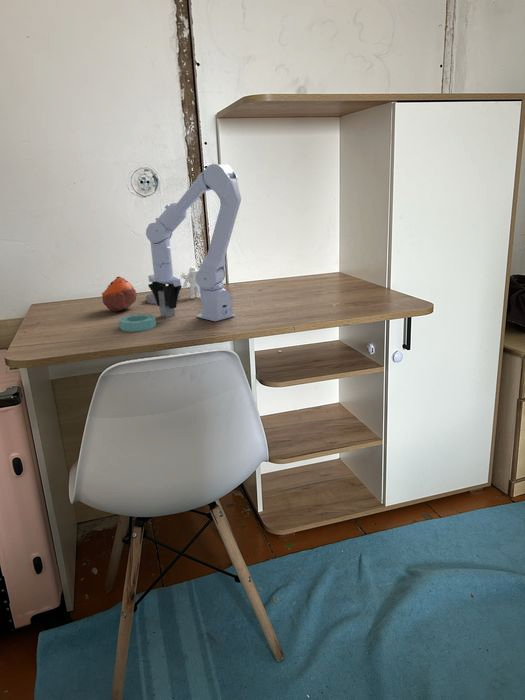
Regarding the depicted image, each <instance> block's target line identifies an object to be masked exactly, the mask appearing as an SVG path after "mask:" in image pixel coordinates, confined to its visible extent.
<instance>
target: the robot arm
mask: <svg viewBox="0 0 525 700" xmlns="http://www.w3.org/2000/svg"><path fill="white" fill-rule="evenodd" d="M238 178H239V177H238V175H237V174H236V172H235V171H234V169H233V167H232V166H230V165H229V164H225V163H224V164H216V163H211V164H209V165H207V167H205V169H204V171H201V172H200V173H199V175H198V176H197V178H196V179H195V180H194V181H193V183H192V184H191V185H190V186H189V188H188V189H187V190H186V191H185V193H184V194H183V195H182V196H181V198H180V199H179V200H178V202H171V203H169V204H166V205H165V206H164V208H165V210H164V211H163V212H162V213H161V214H160V215H159V216H156V217H155V218H154V219H155V222H151V223H149V224H148V226H147V227H146V230H145V235H146V238H147V240H148V241H149V242H150V251H151V261H152V269H153V274H151V275H148V282H150V283H149V284H147V286H148V288H149V289H150V291H151V293H153V294H154V297H155V299H156V302H157V304H156V305H157V307H160V305H159V296H158V291H161V290H164V291H165V293H166V296H167V300H168V306H169V308H170V309H173V308H174V309H175V308H177V304H178V299H179V298H178V295H179V292H180V293H181V290H182V288H183V286H182V284H181V278H177V277H176V276H174V271H173V269H174V268H173V262H172V250H171V244H170V240H171V238H172V236H173V232H174V231H175V230H176V229H177V228H178V227H179V226H180V225H181V223H182V222H183V221H184V220H185V219H186V218H187V210H189V208H190V207H191V206H192V205H194V203H195V202H197V201H198V199H199V198H200V197H201V196H202V195H203V194H204V193H205V192H209V191H211V190H212V191H213V192H214V193H216V196H218V197H217V198H218V199H219V200H220V207H219V211H218V215H217V216H216V217H217V218H216V221H215V226H214V229H213V233H212V235H211V240H210V243H209V246H208V250H207V254H206V256H205V258H204V259H203V261H202V263H201V265H200V268H199V269H198V272H197V273H196V282H197V284H198V285H199V288H200V307H201V314H196V315H195V317H196V318H200V319H203V320H208V321H212V322H218V321H221V320H226V319H229V318H233V317H235V316H236V314H233V300H232V298H233V297H232V295H231V292H230V291H228V290H226V289H225V288H224V287H225V286H224V282H223V281H224V280H225V278H226V269H225V267H226V263H227V262H226V259H225V258H226V255H227V251H228V247H229V243H230V240H231V237H232V233H233V230H234V226H235V222H236V219H237V217H238V212H239V209H240V205H241V201H242V197H241V193H240V188H239V182H238Z"/></svg>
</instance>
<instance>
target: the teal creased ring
mask: <svg viewBox="0 0 525 700" xmlns="http://www.w3.org/2000/svg"><path fill="white" fill-rule="evenodd" d="M156 326H157V320H156V316H155V315H153V314H145V313H142V314H133V315H127V316H124V317H121V318H120V319H119V328H120V330H121V331H122V332H128V333H130V332H143V331H148V330H151V329H153V328H155V327H156Z"/></svg>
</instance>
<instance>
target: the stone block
mask: <svg viewBox="0 0 525 700" xmlns="http://www.w3.org/2000/svg"><path fill="white" fill-rule="evenodd" d="M180 297H181V291H180V292H179V295H178V299H179V298H180ZM145 300H146V302H147V304H151V305H152V304H153V305H154V304H156V305H157V302H156V299H155V297H154V294H153V292H150V294H147V295H146V296H145Z"/></svg>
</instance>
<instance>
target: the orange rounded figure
mask: <svg viewBox="0 0 525 700" xmlns="http://www.w3.org/2000/svg"><path fill="white" fill-rule="evenodd" d="M134 288H135V287H134V286H133V284H131V283H130V282H129V281H128V280H126V279H125V278H123V277H121V276H116V277H115V279H113V280H112V281H111V282H110V283H109V284H108V285H107V288H106V289H105V290H104V291H102V292H101V296H102V297H101V298H102V303H103V305H104V306H105V307H106V308H107V309H109V311H112V312H121V311H123V310H126V309H127V308H129V307H131V306H132V305H133V304H135V302H136V301H137V295H138V294H137V290H136V289H134Z"/></svg>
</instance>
